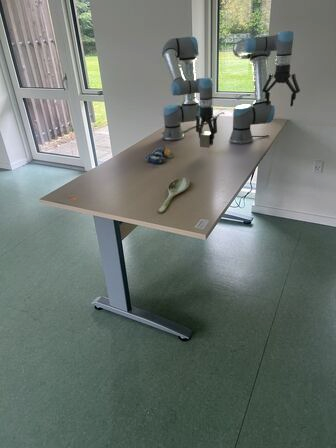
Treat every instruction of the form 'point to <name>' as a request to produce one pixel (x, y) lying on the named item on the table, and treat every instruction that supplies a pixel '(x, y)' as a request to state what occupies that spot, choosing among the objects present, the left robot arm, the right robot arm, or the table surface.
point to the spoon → (175, 190)
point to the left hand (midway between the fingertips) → (206, 143)
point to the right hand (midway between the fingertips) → (279, 105)
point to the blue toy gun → (159, 155)
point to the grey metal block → (205, 139)
